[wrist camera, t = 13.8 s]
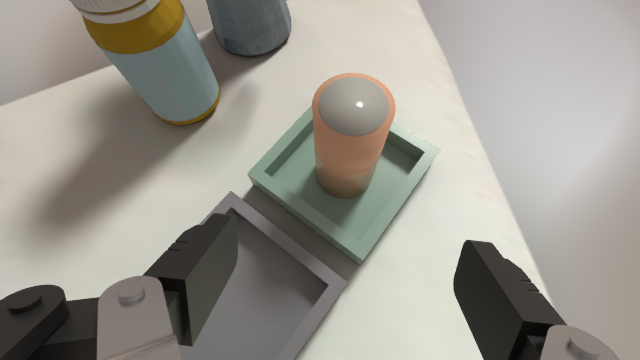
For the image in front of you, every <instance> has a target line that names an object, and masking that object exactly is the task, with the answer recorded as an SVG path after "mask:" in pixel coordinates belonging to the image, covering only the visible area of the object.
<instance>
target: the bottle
mask: <svg viewBox="0 0 640 360" xmlns="http://www.w3.org/2000/svg"><path fill="white" fill-rule="evenodd" d="M69 1H71V2H72V3H73V5H74V6H75V7H76V9H77V10H78V11H79V12H80V13H81V14H82V17H83V20H84V22H85V25H86V28H87V30H88V32H89V34H90V36H91V37H92V38H93V39H94V41H95V42H96V44H97V45H98V46H99V47H100V48H101V50H102V51H103V52H104V53H105V54H106V56H107V57H108V58H109V59H110V60H111V62H112V63H113V64H114V65H115V66H116V68H117V69H118V70H119V71H120V72H121V74H122V75H123V76H124V77H125V78H126V80H127V81H128V82H129V83H130V84H131V86H132V87H133V88H134V89H135V90H136V92H137V93H138V94H139V95H140V96H141V98H142V99H143V100H144V101H145V102H146V103H147V105H148V106H149V107H150V108H151V109H152V111H153V112H154V113H155V114H156V115H157V116H158V117H159V118H160V119H162V120H163V121H165V122H167V123H171V124H175V125H185V124H190V123H194V122H198V121H200V120H201V119H203V118H205V117H206V116H207V115H208V114H209V113H211V112H212V111H213V110H214V108H215V107H216V105H217V103H218V101H219V97H220V89H219V85H218V83H217V80H216V78H215V75H214V73H213V71H212V69H211V67H210V64H209V62H208V60H207V58H206V56H205V53H204V51H203V49H202V47H201V45H200V42H199V40H198V38H197V36H196V34H195V32H194V29H193V27H192V25H191V23H190V20H189V19H188V17H187V14H186V12H185V9H184V7H183V5H182V4H181V2H180V0H69Z"/></svg>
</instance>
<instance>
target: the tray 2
mask: <svg viewBox="0 0 640 360" xmlns="http://www.w3.org/2000/svg"><path fill="white" fill-rule="evenodd" d="M213 213H222V214H232V215H235V216H236V218H237V235H238V258H237V263H236V266H235V269H234V271H233V273H232V275H231V277H230V278H229V280H228V282H227V284H226V286H225V288H224V290H223V291H222V293H221V295H220V297H219V299H218V301H217V302H216V304H215V306H214V308H213V310H212V312H211V314H210V315H209V317H208V319H207V321H206V323H205V325H204V327H203V328H202V330H201V332H200V334H199V336H198V338H197V340H196V341H195V343H194V345H193V347H191V346H183V345H178V346H179V350H180V354H181V358H182V360H294V359H295V357H296V356H297V354H298V353H299V351H300V350H301V349H302V347H303V346H304V344H305V343H306V341H307V340H308V339H309V337H310V336H311V334H312V333H313V331H314V330H315V329H316V327H317V326H318V324H319V323H320V321H321V320H322V319H323V317H324V316H325V314H326V313H327V311H328V310H329V309H330V307H331V306H332V304H333V303H334V302H335V300H336V299H337V297H338V296H339V294H340V293H341V292H342V290H343V289H344V287H345V286H346V284H347V283H348V282H347V281H345V280H344V279H343V278H342V277H340V276H339V275H338V274H336V273H335V272H334V271H333V270H331V269H330V268H329V267H328V266H326V265H325V264H324V263H322V262H321V261H320V260H319V259H317V258H316V257H315V256H314V255H312V254H311V253H310V252H308V251H307V250H306V249H305V248H303V247H302V246H301V245H300V244H298V243H297V242H296V241H294V240H293V239H292V238H291V237H289V236H288V235H287V234H285V233H284V232H283V231H282V230H280V229H279V228H278V227H277V226H275V225H274V224H273V223H271V222H270V221H269V220H268V219H266V218H265V217H264V216H263V215H261V214H260V213H259V212H257V211H256V210H255V209H254V208H252V207H251V206H250V205H249V204H247V203H246V202H245V201H243V200H242V199H241V198H240V197H238V196H237V195H236V194H234V193H233V192H232V191H230V192H229V193H228V195H227V196H226V197H225V198H224V199H223V200H222V201H221V202H220V203H219V204H218V205H217V206H216V207H215V208H214V209H213V210H212V211H211V213H210V214H209V215H208V216H207V217H206V218H205V219H204V220H203V221H202V222H201V223H200V224H199V225H203V224H204V223H205V222H206V221H207V219H208V218H209V217H210V216H211V215H212V214H213Z"/></svg>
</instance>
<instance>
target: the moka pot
mask: <svg viewBox="0 0 640 360" xmlns="http://www.w3.org/2000/svg"><path fill="white" fill-rule="evenodd" d="M206 1H207V5H208V9H209V13H210V16H211V20H212V24H213V28H214V31H215V34H216V37H217V39H218V41H219V42H220V44H221V45H222V46H223V47H224V48H225V50H227V51H229V52H231V53H235V54H240V55H243V56H253V55H260V54H263V53H267V52H269V51H271V50H273V49H275V48H277V47H279V45H280V44H282V43H283V42H284V41H285V40H286V39H287V38H288V37H289V36H290V32H291V17H290V12H289V9H288V6H287V3H286V0H206Z"/></svg>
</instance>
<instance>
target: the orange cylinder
mask: <svg viewBox="0 0 640 360" xmlns="http://www.w3.org/2000/svg"><path fill="white" fill-rule="evenodd" d="M312 114H313V131H314V149H315V167H316V178H317V181H318V183H319V185H320V187H321V188H322V189H323V190H324V191H325V192H326V193H327V194H329V195H331V196H333V197H336V198H340V199H349V198H354V197H357V196H359V195H360V194H362V193H363V192H364V191H365V190H366V189H367V188H368V187H369V185H370V183H371V180H372V178H373V175H374V172H375V169H376V166H377V164H378V161H379V158H380V155H381V152H382V149H383V147H384V144H385V141H386V138H387V135H388V133H389V130H390V127H391V124H392V121H393V118H394V115H395V102H394V99H393V96H392V94H391V92H390V91H389V90H388V88H387V87H386V86H385V85H384V84H382V83H381V82H380V81H378V80H377V79H375V78H373V77H370V76H368V75H364V74H358V73H346V74H341V75H337V76H335V77H332V78H330V79H328V80H327V81H325V82H324V83H323V84H322V85H321V86H320V87H319V88H318V89H317V91H316V93H315V95H314V97H313V101H312Z"/></svg>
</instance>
